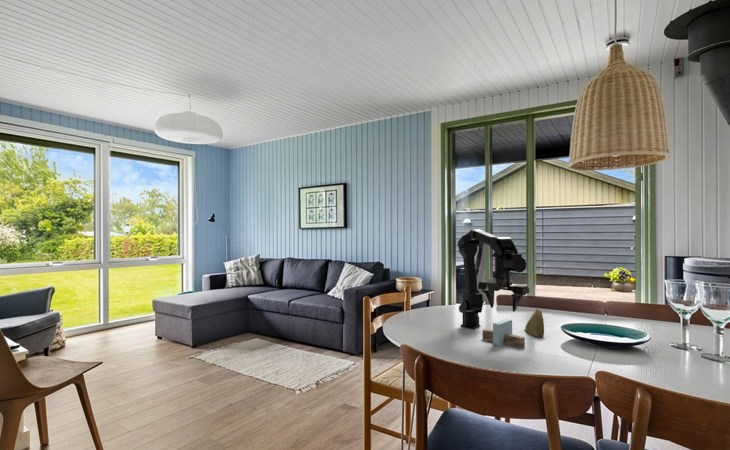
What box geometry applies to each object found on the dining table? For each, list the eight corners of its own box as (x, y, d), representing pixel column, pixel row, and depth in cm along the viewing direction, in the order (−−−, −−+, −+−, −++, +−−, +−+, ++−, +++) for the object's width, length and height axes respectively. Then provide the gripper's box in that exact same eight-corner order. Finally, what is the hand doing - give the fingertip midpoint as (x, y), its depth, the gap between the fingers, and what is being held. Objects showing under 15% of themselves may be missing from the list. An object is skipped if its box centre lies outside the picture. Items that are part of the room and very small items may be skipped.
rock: (551, 333, 152) (552, 324, 161) (536, 315, 154) (538, 307, 162) (527, 346, 157) (530, 336, 166) (513, 328, 159) (517, 320, 167)
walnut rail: (482, 338, 154) (482, 329, 154) (485, 337, 155) (485, 328, 155) (521, 347, 142) (521, 338, 142) (524, 346, 143) (524, 337, 143)
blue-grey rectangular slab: (499, 345, 144) (498, 324, 144) (493, 344, 146) (492, 323, 146) (512, 340, 151) (512, 320, 151) (506, 339, 153) (506, 318, 153)
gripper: (470, 269, 152) (470, 308, 152) (515, 273, 138) (515, 317, 138) (485, 266, 160) (485, 304, 160) (529, 270, 146) (529, 312, 146)
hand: (502, 309), depth 151 cm, fingers open, 9 cm apart
